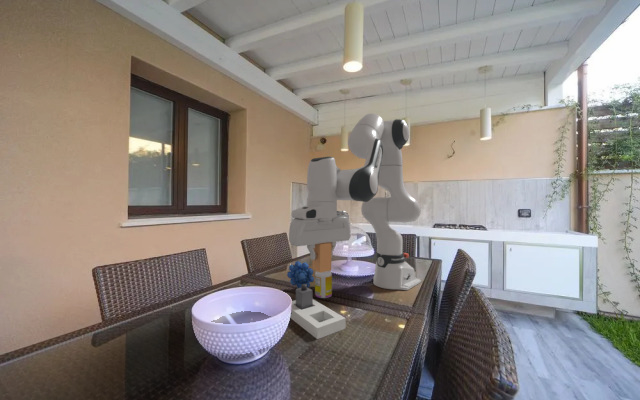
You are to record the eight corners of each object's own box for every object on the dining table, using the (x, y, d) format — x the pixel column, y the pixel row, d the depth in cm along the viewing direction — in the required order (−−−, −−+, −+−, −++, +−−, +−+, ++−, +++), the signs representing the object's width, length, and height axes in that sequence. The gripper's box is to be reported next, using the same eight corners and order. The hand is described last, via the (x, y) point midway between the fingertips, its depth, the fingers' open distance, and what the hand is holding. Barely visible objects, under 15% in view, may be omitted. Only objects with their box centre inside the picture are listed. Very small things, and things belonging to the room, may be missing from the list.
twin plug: (306, 310, 88) (306, 282, 88) (312, 314, 85) (312, 285, 85) (295, 313, 86) (295, 284, 86) (302, 317, 83) (301, 288, 83)
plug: (323, 267, 80) (323, 236, 80) (331, 270, 76) (331, 238, 76) (312, 269, 77) (312, 237, 77) (320, 272, 74) (320, 239, 74)
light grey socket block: (308, 307, 93) (308, 296, 92) (345, 331, 76) (345, 318, 76) (283, 315, 87) (283, 303, 87) (317, 342, 70) (317, 328, 70)
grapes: (288, 293, 106) (288, 264, 106) (286, 288, 112) (286, 260, 112) (316, 291, 109) (316, 262, 108) (312, 285, 115) (312, 258, 115)
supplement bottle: (332, 294, 105) (332, 262, 105) (331, 300, 99) (331, 267, 99) (315, 293, 106) (315, 262, 106) (313, 300, 99) (313, 266, 99)
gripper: (342, 210, 85) (341, 252, 86) (286, 211, 74) (286, 260, 74) (355, 210, 80) (355, 255, 80) (297, 212, 68) (297, 265, 69)
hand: (321, 258), depth 77 cm, fingers closed on plug, 4 cm apart
